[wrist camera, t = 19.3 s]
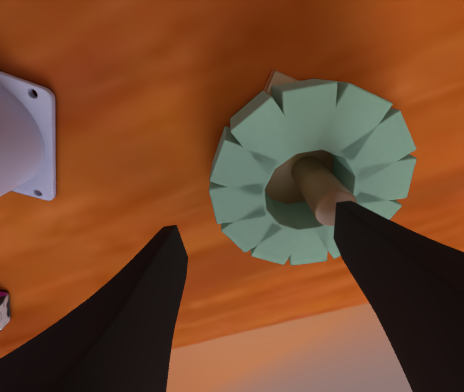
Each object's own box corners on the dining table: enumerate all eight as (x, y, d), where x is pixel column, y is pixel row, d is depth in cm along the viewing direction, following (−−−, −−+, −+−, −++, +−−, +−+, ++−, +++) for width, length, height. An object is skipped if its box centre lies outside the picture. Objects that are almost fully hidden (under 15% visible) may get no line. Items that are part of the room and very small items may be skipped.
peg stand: (220, 196, 17) (216, 251, 12) (271, 69, 13) (299, 70, 8) (322, 228, 19) (357, 290, 14) (396, 125, 15) (487, 157, 10)
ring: (194, 212, 16) (187, 239, 14) (252, 46, 12) (259, 40, 9) (322, 250, 18) (337, 280, 16) (418, 122, 14) (464, 136, 11)
